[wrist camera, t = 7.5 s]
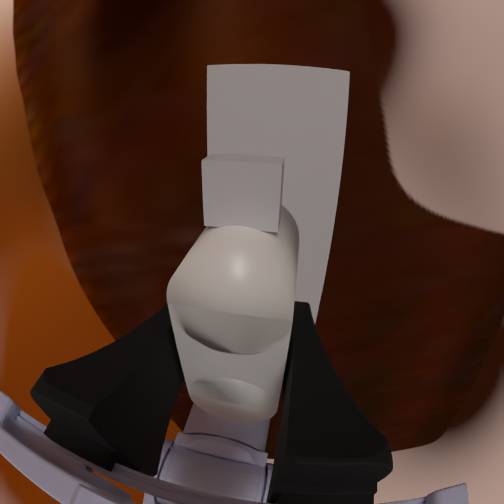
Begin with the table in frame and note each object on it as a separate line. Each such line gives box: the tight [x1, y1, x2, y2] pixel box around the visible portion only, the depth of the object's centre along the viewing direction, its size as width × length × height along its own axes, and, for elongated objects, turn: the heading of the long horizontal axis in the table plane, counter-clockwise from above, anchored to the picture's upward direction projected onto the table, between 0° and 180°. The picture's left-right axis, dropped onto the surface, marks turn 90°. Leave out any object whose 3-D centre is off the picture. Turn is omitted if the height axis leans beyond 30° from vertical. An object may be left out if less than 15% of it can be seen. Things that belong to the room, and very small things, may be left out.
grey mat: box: [207, 64, 350, 323], centre depth 19 cm, size 20×8×1 cm, turn 179°
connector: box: [167, 153, 299, 423], centre depth 11 cm, size 10×4×4 cm, turn 178°
